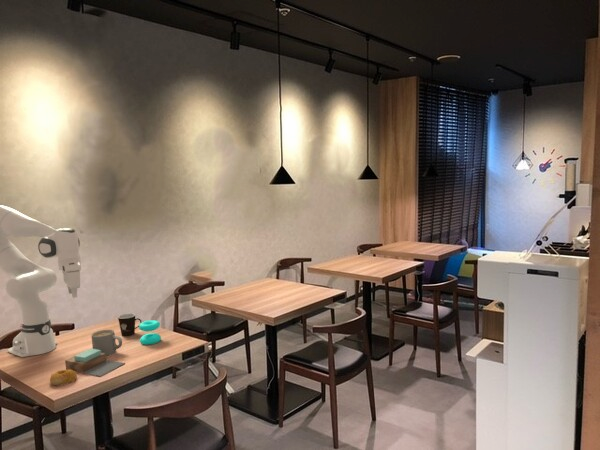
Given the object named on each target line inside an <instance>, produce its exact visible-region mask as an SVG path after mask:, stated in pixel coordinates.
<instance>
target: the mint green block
mask: <svg viewBox="0 0 600 450" xmlns="http://www.w3.org/2000/svg"><path fill="white" fill-rule="evenodd" d="M99 355H101V350H97V349H93V348H89V349H87V350H85V351H83V352H80V353H78V354H75V355H74V356H73V357H74V358H75V361H81V362H86V361H88V360H90V359H93V358H95V357H97V356H99Z"/></svg>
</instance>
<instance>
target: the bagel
mask: <svg viewBox="0 0 600 450" xmlns="http://www.w3.org/2000/svg"><path fill="white" fill-rule="evenodd" d="M76 379H77V371H73V370H71V369H68V370H66V369H61V370H57V371H56V372H55V373H52V374H51V376H50V379H49V383H50V385H52V386H65V385H68V384H71V383H72V382H74V381H75V380H76Z"/></svg>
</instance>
